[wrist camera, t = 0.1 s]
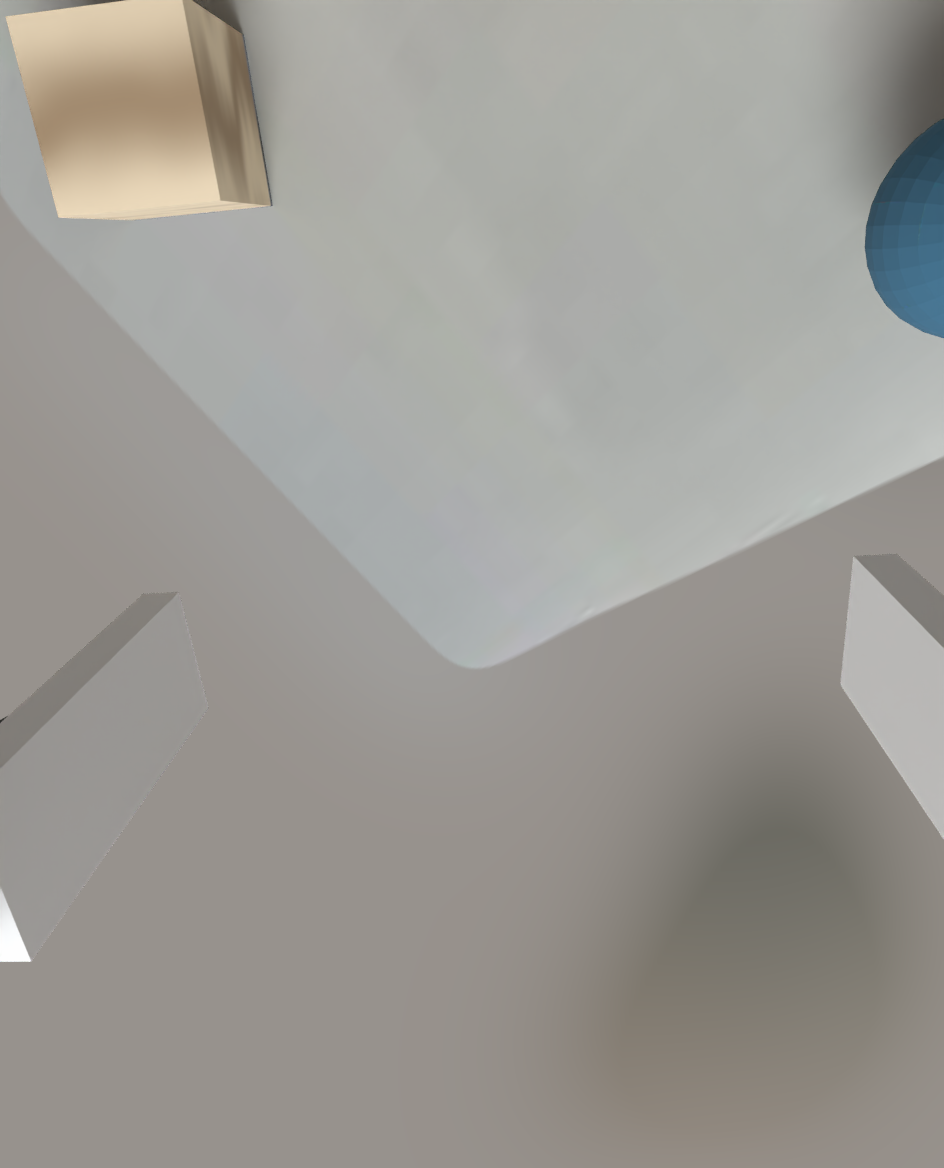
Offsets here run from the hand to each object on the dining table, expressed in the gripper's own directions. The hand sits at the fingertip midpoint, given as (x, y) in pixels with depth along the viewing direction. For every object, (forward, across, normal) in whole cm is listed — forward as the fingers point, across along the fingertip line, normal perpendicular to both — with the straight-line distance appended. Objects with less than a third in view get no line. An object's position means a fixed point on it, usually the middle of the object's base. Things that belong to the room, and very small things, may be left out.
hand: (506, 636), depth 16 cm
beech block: (+28, -15, +13) cm, 35 cm away
